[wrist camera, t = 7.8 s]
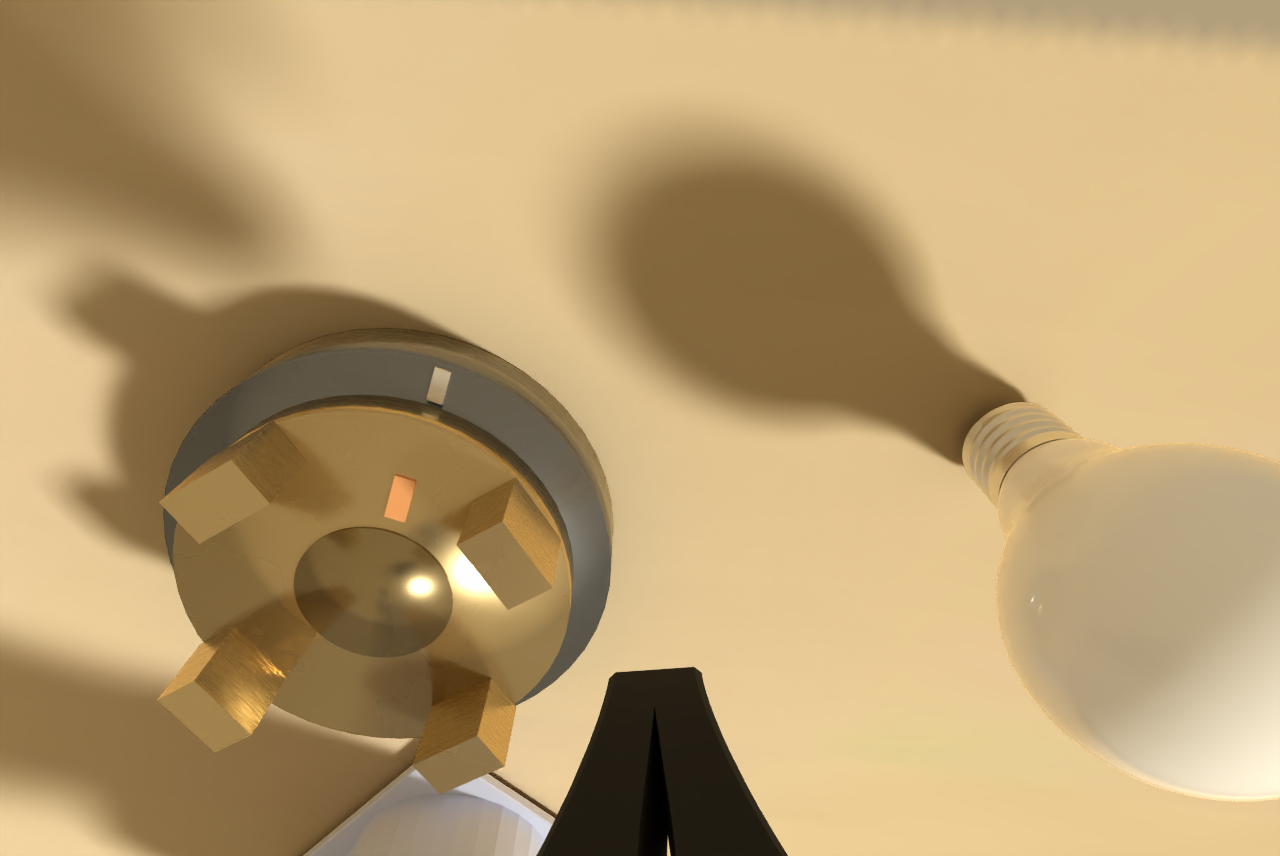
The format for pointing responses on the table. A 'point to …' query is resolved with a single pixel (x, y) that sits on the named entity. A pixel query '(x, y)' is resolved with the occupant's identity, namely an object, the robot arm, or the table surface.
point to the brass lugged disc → (369, 581)
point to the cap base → (456, 386)
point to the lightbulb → (1141, 598)
